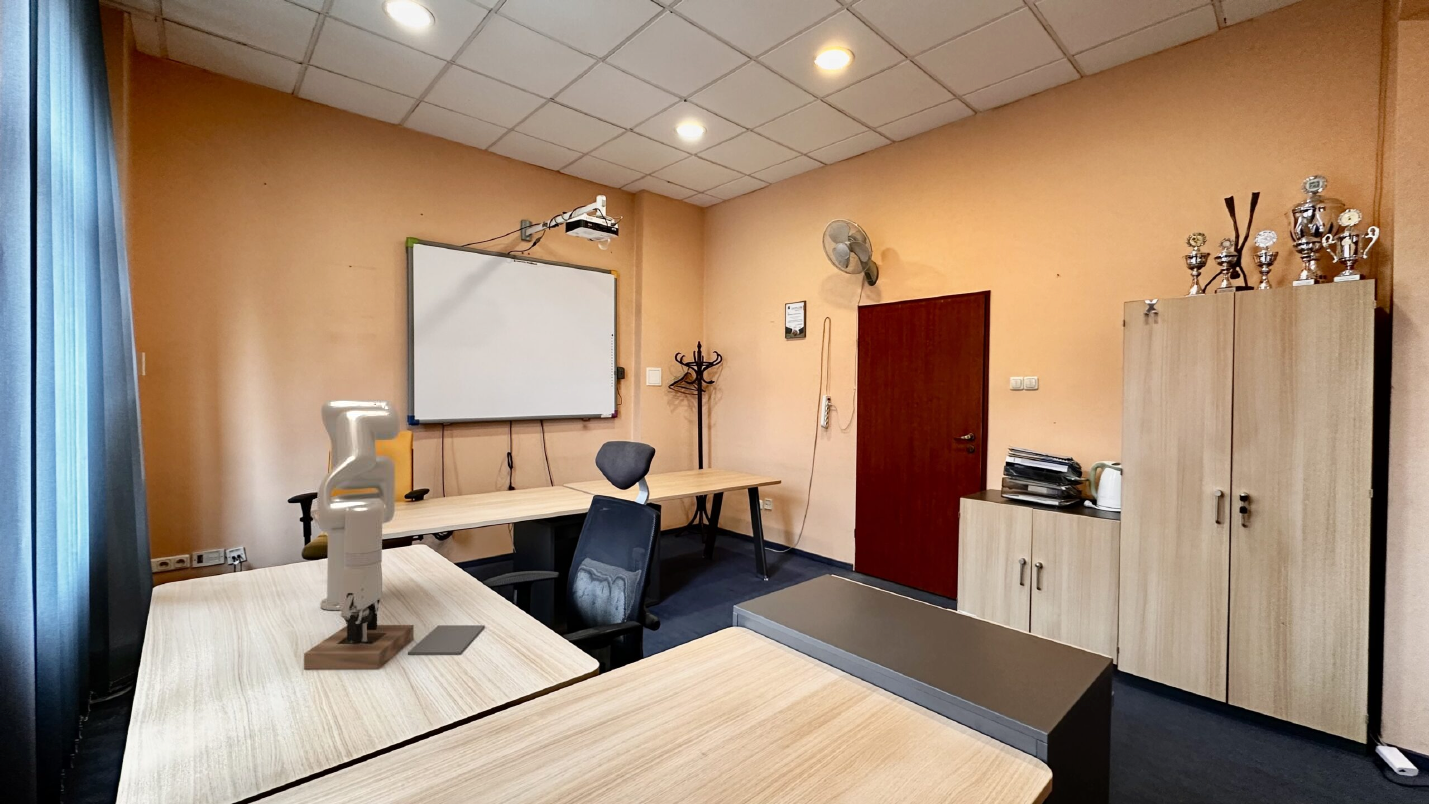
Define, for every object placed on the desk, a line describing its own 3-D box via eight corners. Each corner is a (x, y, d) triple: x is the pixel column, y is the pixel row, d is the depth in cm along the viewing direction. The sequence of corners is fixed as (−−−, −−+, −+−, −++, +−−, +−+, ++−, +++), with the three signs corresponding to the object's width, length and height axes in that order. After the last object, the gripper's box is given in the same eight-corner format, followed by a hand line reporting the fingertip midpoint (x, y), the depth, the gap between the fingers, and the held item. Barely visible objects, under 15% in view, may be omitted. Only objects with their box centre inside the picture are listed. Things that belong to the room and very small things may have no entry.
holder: (347, 638, 142) (347, 624, 142) (413, 638, 142) (413, 624, 142) (303, 669, 126) (304, 653, 126) (378, 669, 126) (378, 653, 126)
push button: (382, 651, 135) (381, 609, 135) (360, 660, 130) (359, 617, 130) (363, 645, 138) (363, 604, 137) (341, 654, 133) (340, 612, 133)
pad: (438, 627, 149) (438, 625, 149) (484, 627, 150) (484, 625, 150) (407, 654, 133) (407, 652, 133) (459, 654, 134) (460, 652, 134)
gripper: (367, 548, 142) (366, 620, 142) (323, 568, 125) (322, 651, 125) (398, 548, 143) (397, 620, 143) (358, 568, 126) (357, 650, 126)
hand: (362, 634), depth 134 cm, fingers closed on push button, 5 cm apart
